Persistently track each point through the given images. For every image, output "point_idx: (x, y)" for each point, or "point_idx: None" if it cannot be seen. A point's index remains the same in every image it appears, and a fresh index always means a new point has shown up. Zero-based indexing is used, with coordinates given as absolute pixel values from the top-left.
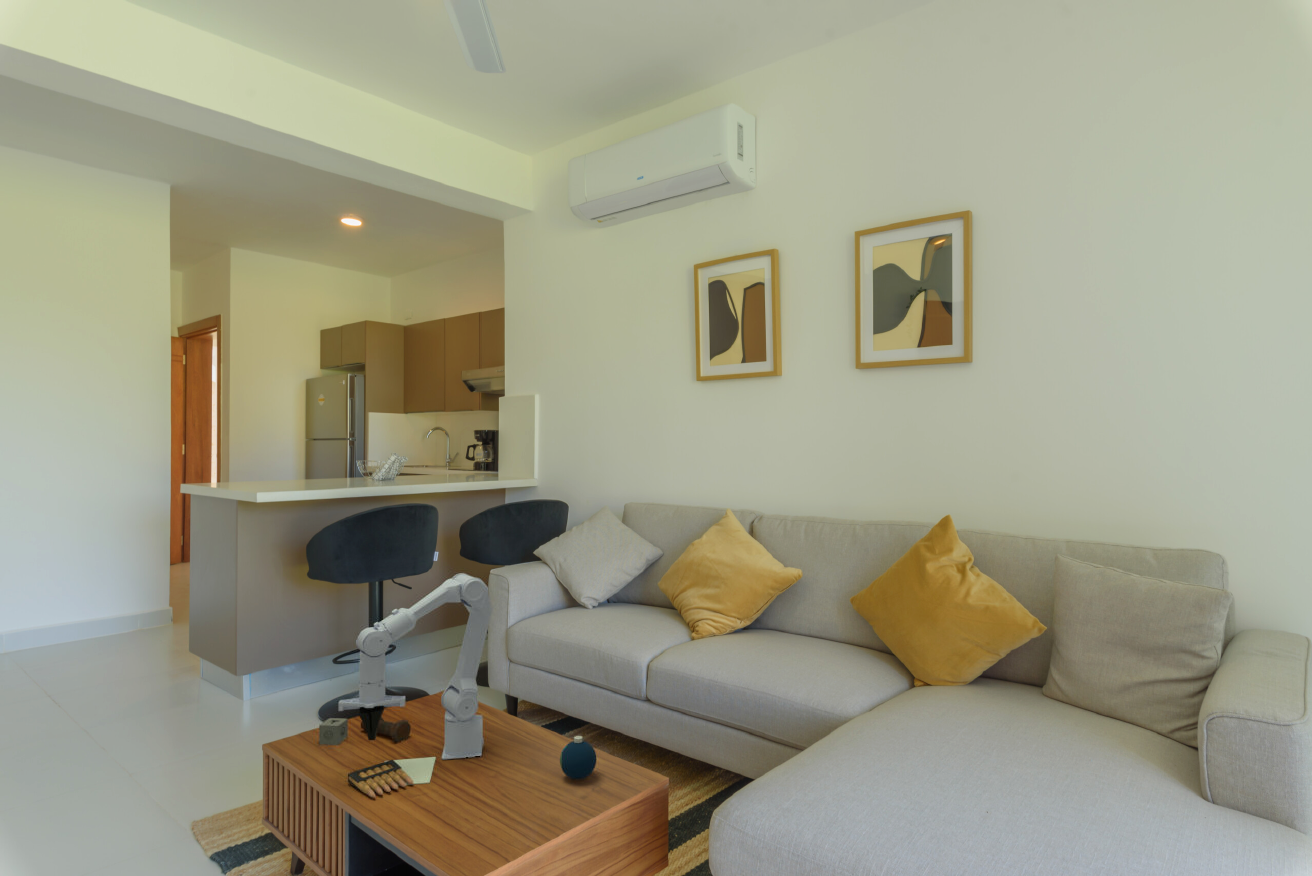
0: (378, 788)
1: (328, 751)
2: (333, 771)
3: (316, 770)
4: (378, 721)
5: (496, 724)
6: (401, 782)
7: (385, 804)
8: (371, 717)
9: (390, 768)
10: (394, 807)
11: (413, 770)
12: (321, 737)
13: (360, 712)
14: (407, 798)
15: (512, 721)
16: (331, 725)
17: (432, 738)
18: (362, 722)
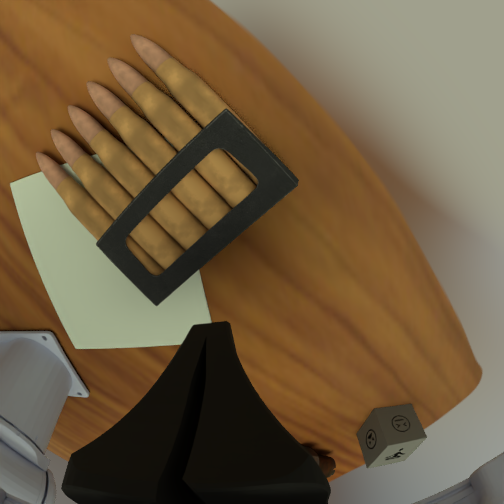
0: (127, 76)
1: (392, 383)
2: (368, 279)
3: (415, 286)
4: (125, 415)
5: (63, 447)
6: (63, 141)
7: (92, 18)
8: (171, 449)
9: (145, 254)
10: (62, 8)
11: (87, 269)
12: (412, 416)
13: (311, 499)
14: (37, 69)
15: (47, 447)
16: (402, 443)
17: None
18: (332, 468)
